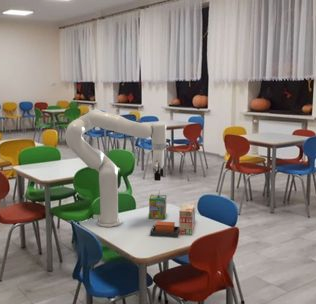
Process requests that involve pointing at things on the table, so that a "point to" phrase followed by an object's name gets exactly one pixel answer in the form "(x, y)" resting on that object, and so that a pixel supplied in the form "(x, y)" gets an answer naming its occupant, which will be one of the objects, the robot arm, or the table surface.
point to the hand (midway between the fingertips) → (158, 178)
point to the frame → (164, 234)
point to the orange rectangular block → (164, 226)
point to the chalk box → (157, 206)
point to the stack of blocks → (186, 219)
